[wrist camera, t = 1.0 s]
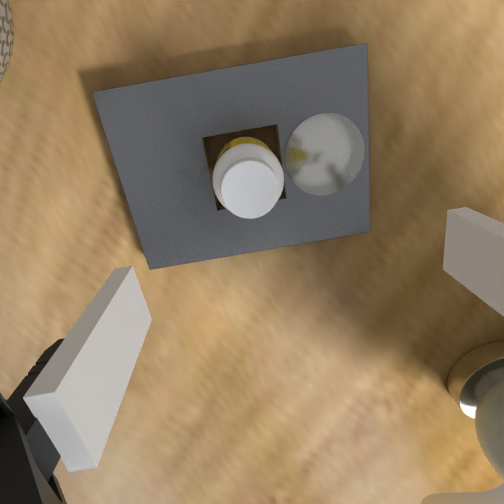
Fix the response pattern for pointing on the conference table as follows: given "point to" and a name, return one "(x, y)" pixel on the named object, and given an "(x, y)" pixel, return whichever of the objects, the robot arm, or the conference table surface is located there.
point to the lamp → (483, 397)
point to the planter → (5, 35)
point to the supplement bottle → (247, 177)
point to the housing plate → (237, 119)
